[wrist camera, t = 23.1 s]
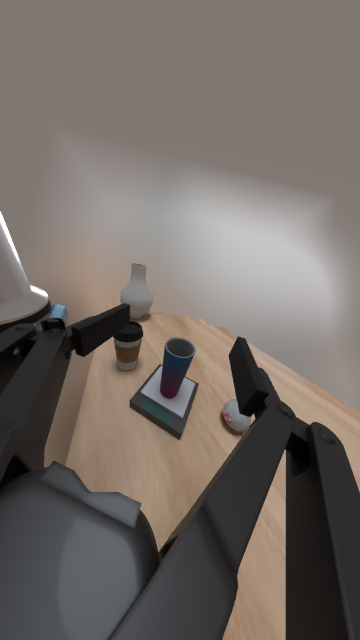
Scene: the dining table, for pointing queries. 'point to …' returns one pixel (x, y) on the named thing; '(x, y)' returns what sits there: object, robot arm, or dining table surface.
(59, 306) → the robot arm
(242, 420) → the figurine
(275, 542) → the dining table surface
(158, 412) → the scale
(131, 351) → the coffee cup
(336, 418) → the dining table surface
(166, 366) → the cup
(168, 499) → the dining table surface
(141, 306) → the vase
